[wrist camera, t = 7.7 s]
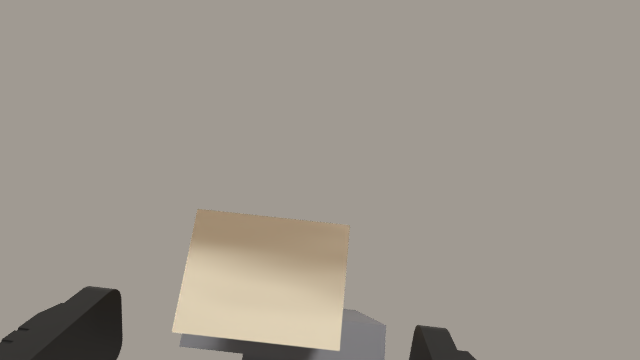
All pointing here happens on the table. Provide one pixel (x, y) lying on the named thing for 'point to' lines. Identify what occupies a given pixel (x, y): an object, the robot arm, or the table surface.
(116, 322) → the robot arm
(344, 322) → the grey stand
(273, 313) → the beech bar
